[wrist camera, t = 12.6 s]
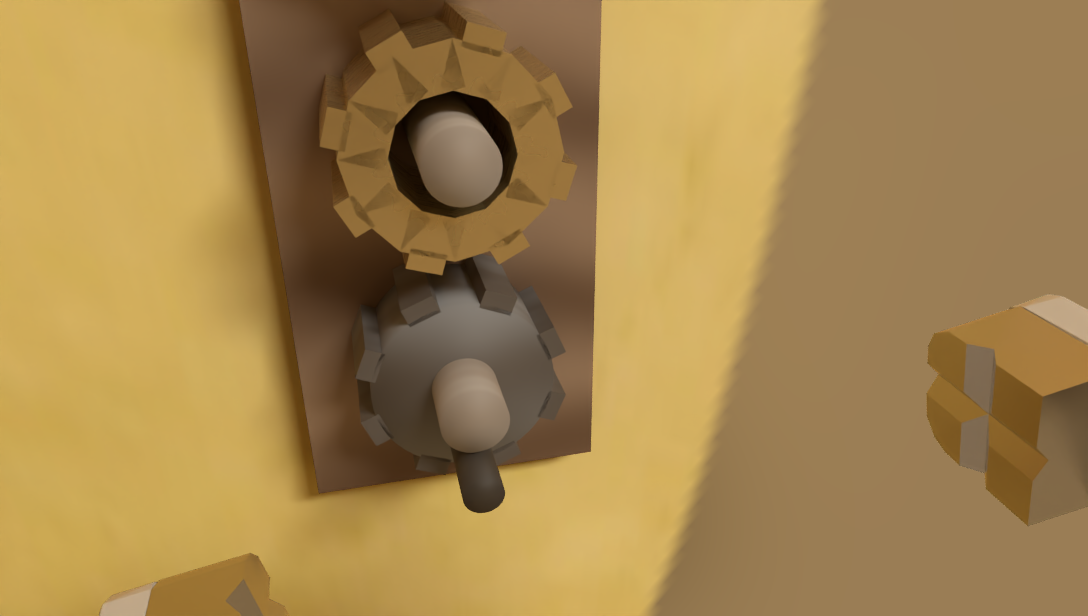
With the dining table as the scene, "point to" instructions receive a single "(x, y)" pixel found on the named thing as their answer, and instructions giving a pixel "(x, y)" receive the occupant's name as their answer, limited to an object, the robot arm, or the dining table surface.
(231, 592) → the robot arm
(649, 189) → the dining table surface
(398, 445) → the gear board
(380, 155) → the wooden gear
